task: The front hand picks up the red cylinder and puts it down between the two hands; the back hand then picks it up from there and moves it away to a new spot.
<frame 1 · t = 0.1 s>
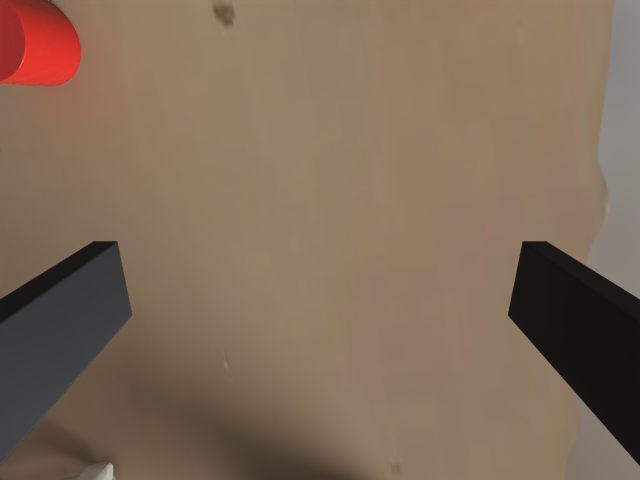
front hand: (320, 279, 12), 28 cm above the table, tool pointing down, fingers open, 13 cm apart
red cylinder: (40, 43, 35), on the table
dog toy: (57, 477, 55), on the table
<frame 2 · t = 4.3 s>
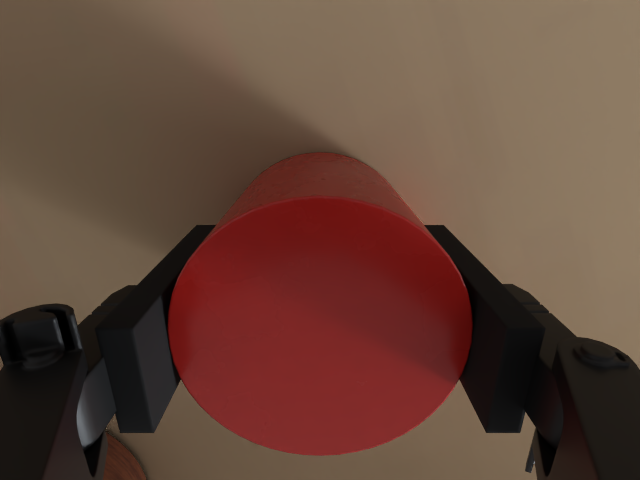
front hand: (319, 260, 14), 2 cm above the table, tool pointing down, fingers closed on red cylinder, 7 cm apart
red cylinder: (320, 241, 16), on the table, touching front hand
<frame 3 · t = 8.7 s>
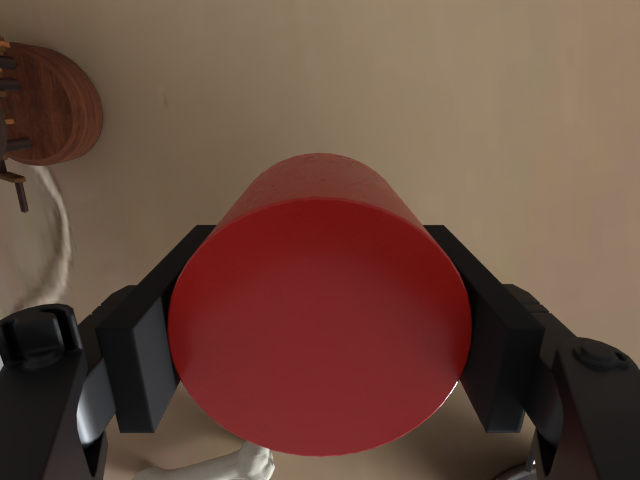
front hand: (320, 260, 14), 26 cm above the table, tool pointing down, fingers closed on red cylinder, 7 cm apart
brown wooden figurine: (52, 114, 37), on the table
red cylinder: (319, 242, 16), point 24 cm above the table, touching front hand
dog toy: (208, 457, 53), on the table
when the front hand's fingers open (4 cm above the table, at t = 13.0 s): red cylinder drops 2 cm, on the table.
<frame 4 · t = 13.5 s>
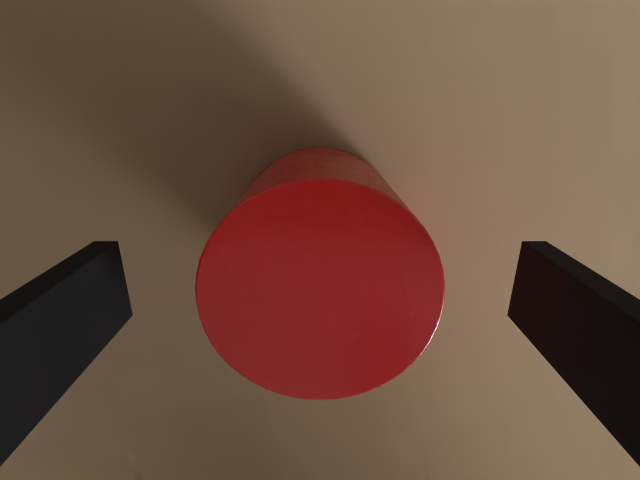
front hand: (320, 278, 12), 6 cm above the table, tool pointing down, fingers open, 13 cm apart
red cylinder: (319, 227, 18), on the table
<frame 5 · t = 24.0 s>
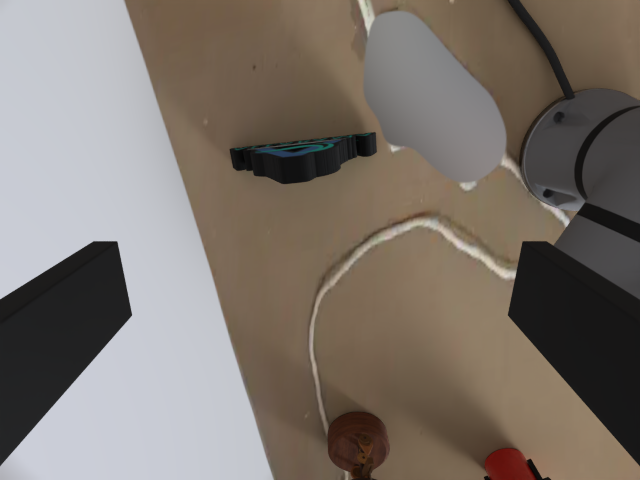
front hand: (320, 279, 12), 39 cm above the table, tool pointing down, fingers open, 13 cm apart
brown wooden figurine: (357, 437, 67), on the table
red cylinder: (504, 463, 69), on the table, touching back hand
decorative sign: (303, 149, 50), on the table
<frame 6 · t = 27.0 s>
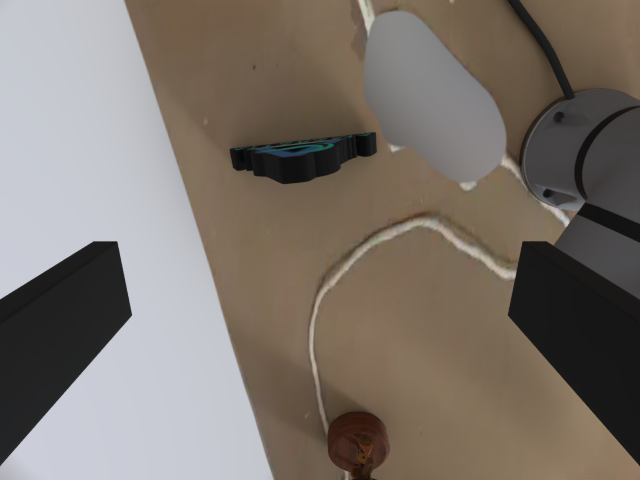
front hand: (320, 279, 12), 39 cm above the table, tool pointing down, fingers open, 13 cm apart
brown wooden figurine: (357, 437, 67), on the table
decorative sign: (303, 149, 50), on the table
when the back hand's fingers open (4 cm above the table, at t = 29.9 s): red cylinder drops 2 cm, on the table.
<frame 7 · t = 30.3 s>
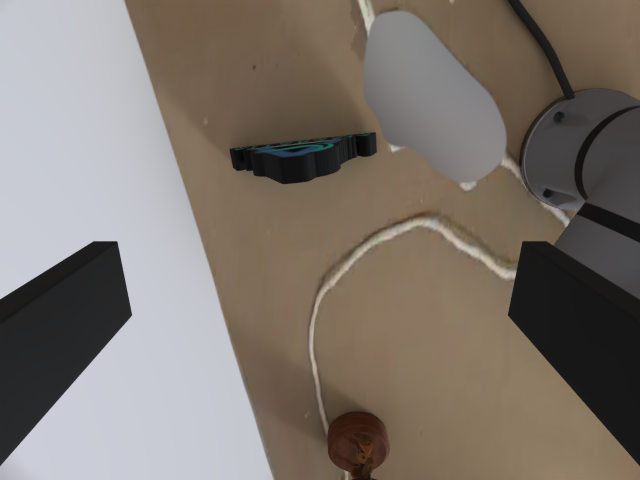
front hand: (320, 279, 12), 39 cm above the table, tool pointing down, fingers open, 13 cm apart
brown wooden figurine: (357, 437, 67), on the table
decorative sign: (303, 149, 50), on the table
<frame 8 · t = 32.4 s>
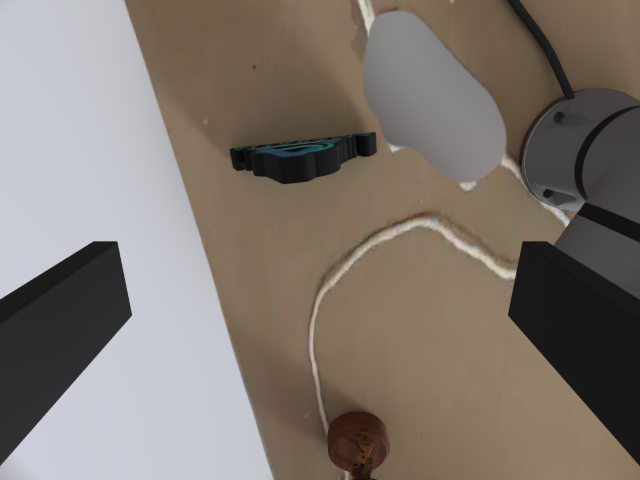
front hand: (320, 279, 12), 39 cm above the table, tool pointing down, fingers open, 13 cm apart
brown wooden figurine: (357, 437, 67), on the table
decorative sign: (303, 149, 50), on the table
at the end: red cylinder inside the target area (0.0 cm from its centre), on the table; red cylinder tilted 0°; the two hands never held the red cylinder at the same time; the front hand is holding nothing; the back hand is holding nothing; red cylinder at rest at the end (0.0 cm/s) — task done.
